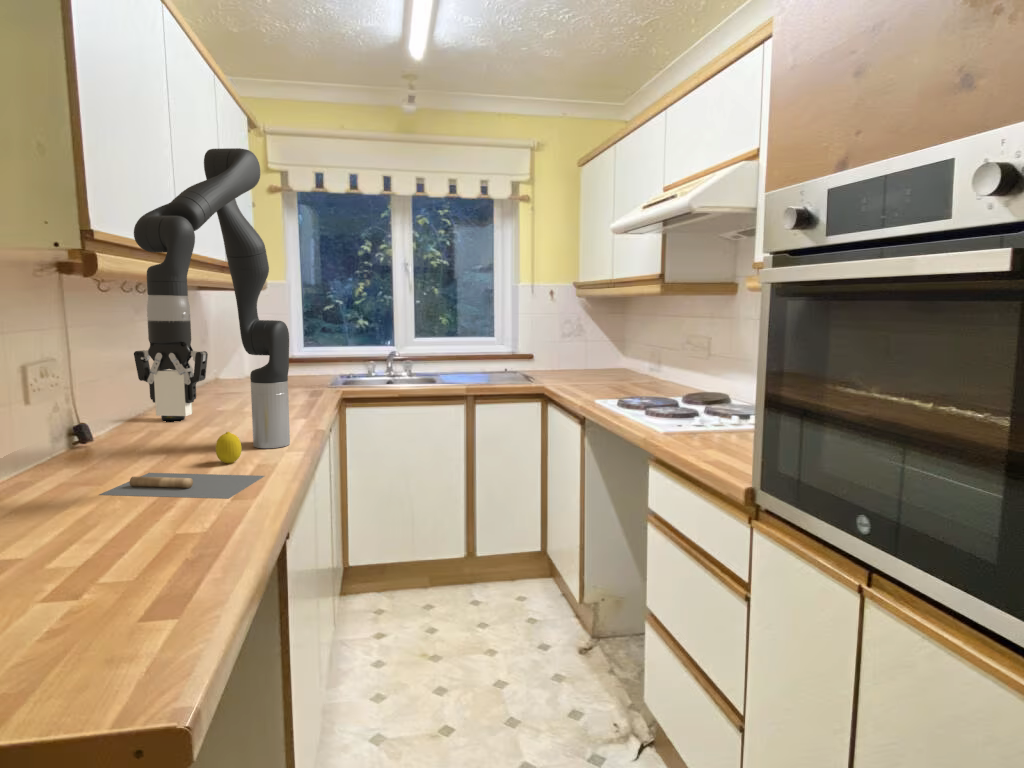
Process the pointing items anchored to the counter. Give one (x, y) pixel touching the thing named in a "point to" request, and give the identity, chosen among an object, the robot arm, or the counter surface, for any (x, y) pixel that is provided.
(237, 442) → the lemon
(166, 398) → the tile
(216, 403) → the counter surface
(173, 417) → the supplement container
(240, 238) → the robot arm
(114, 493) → the mat
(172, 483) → the dowel
